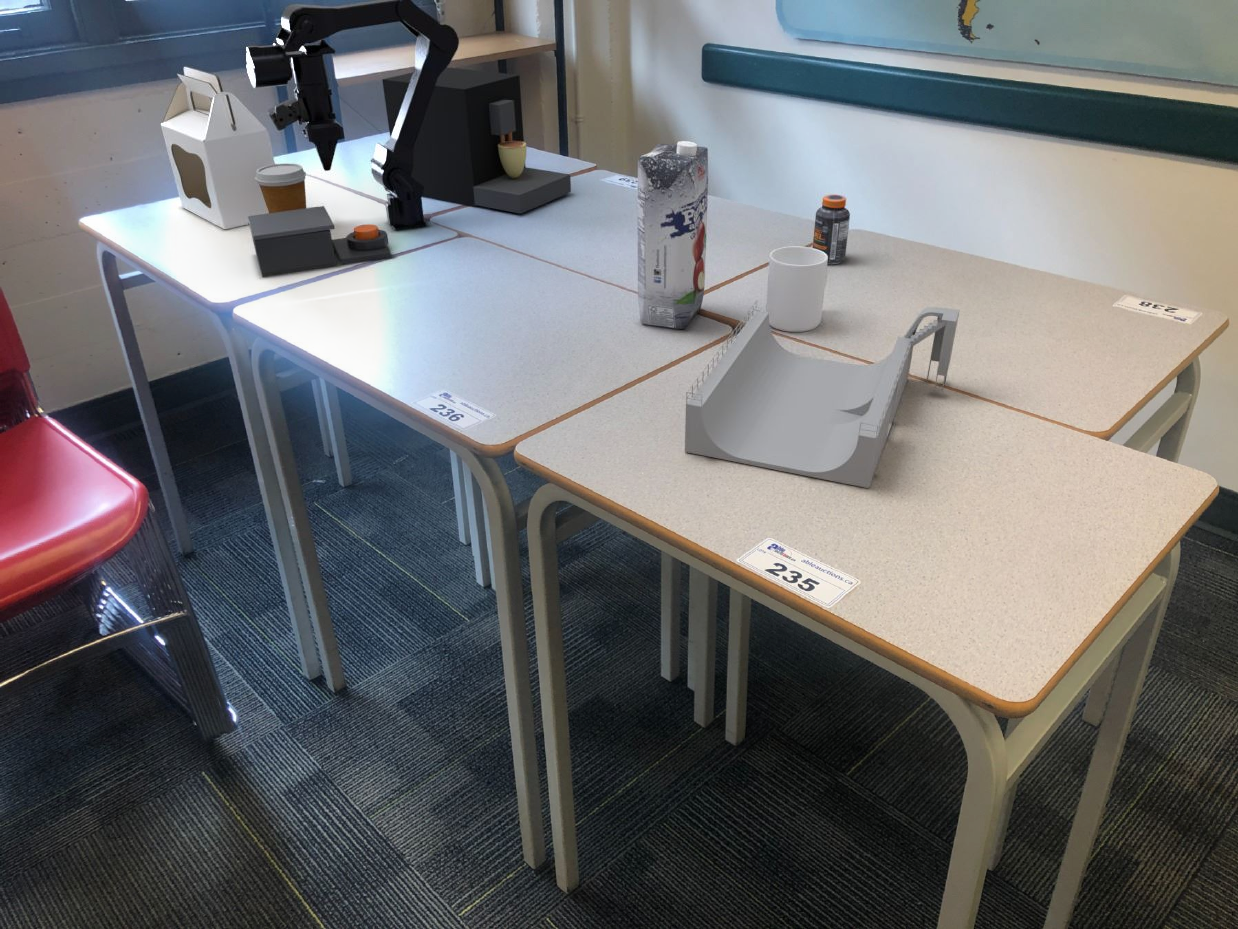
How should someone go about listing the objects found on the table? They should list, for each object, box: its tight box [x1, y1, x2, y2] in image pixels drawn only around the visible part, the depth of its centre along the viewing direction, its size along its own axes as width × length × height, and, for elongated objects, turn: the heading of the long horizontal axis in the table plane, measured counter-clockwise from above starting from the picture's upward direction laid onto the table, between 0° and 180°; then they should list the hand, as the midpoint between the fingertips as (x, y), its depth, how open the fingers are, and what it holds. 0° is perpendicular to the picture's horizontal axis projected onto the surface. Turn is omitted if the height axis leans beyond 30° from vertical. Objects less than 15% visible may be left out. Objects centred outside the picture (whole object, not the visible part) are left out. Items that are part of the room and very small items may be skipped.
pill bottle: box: [812, 193, 851, 265], centre depth 168 cm, size 6×6×11 cm
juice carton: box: [636, 140, 709, 330], centre depth 143 cm, size 9×10×27 cm
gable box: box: [160, 66, 276, 231], centre depth 194 cm, size 22×13×28 cm, turn 43°
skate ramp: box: [684, 300, 960, 489], centre depth 119 cm, size 30×27×11 cm
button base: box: [332, 228, 392, 266], centre depth 178 cm, size 10×12×3 cm
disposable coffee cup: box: [255, 163, 307, 213], centre depth 188 cm, size 10×10×12 cm
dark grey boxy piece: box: [248, 224, 337, 278], centre depth 173 cm, size 13×12×7 cm
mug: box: [765, 245, 829, 333], centre depth 146 cm, size 9×12×11 cm
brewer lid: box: [248, 205, 335, 240], centre depth 171 cm, size 14×12×1 cm
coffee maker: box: [381, 66, 572, 215], centre depth 204 cm, size 18×35×24 cm, turn 57°
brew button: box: [353, 224, 379, 240], centre depth 177 cm, size 4×4×2 cm
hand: (327, 170), depth 179 cm, fingers closed
